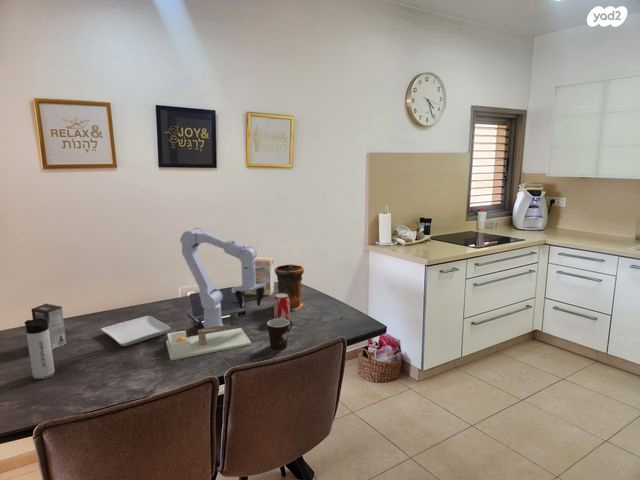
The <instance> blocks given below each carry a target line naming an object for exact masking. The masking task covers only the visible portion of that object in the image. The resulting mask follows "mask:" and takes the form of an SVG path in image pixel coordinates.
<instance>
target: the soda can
mask: <svg viewBox="0 0 640 480" xmlns="http://www.w3.org/2000/svg"><path fill="white" fill-rule="evenodd" d="M273 310H274V311H273V314H274V315H273V316H274V319H279V318H280V319H286V320H288V321H290V316H291V315H290V313H291V312H290V311H291V310H290V302H289V297H288V294H285V293H279V294H278V293H276V294H275V296H274V299H273Z"/></svg>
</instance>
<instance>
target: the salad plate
mask: <svg viewBox="0 0 640 480" xmlns="http://www.w3.org/2000/svg"><path fill="white" fill-rule="evenodd" d="M171 328H172V327H170V326H169V325H167V324H165V323H163V322H162V321H160V320H158V319H156V318H155V317H153V316H150V315H146V316H142V317H138V318H134V319H130V320H126V321H123V322H119V323H118V322H117V323H116V324H113V325H107V326H105V327H102V328H100V331H102V332H103V333H104V334H106V335H107V336H109V337H110V338H111V339H112V340H114V341H116V343H118V345H120V346H122V347H127V346H130V345H136V344H138V343H140V342H144V341H146V340H151V339H153V338H156V337H158V336H161V335H165V334H166V333H167V334H168V332H170V330H171Z"/></svg>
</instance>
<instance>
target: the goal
mask: <svg viewBox="0 0 640 480" xmlns="http://www.w3.org/2000/svg"><path fill="white" fill-rule="evenodd" d="M166 336H167V341H168V345H169V349H170V353H171V355H172V354H178V353H183V352H188V351H190V341H189V340H188V341H187V337H188V336H187V331H186V330H183V331H182V330H181V331H175V332H170V333H168V332H167V335H166ZM181 336H182V337H185V338H186V341H183V342H177V343H176V339H177V338H178V337H181Z"/></svg>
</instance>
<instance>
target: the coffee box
mask: <svg viewBox="0 0 640 480" xmlns="http://www.w3.org/2000/svg"><path fill="white" fill-rule="evenodd" d="M63 313H64V312H63V307H62V306H61V305H55V304H50V303H44V304H41V305H38V306H36V307H34V308H31V316H32V317H31V318H32V320H33V319H45V320H47V321H48V327H49V333H50V341H51V348H52V351H54V350H53V349H55V348H57V347H59V348H61V347H63V346H65V345H67V340H66V339H67V338H66V333H65V324H64V314H63ZM64 344H65V345H64ZM62 345H63V346H62ZM60 346H61V347H60ZM57 349H58V348H57ZM55 350H56V349H55Z"/></svg>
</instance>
